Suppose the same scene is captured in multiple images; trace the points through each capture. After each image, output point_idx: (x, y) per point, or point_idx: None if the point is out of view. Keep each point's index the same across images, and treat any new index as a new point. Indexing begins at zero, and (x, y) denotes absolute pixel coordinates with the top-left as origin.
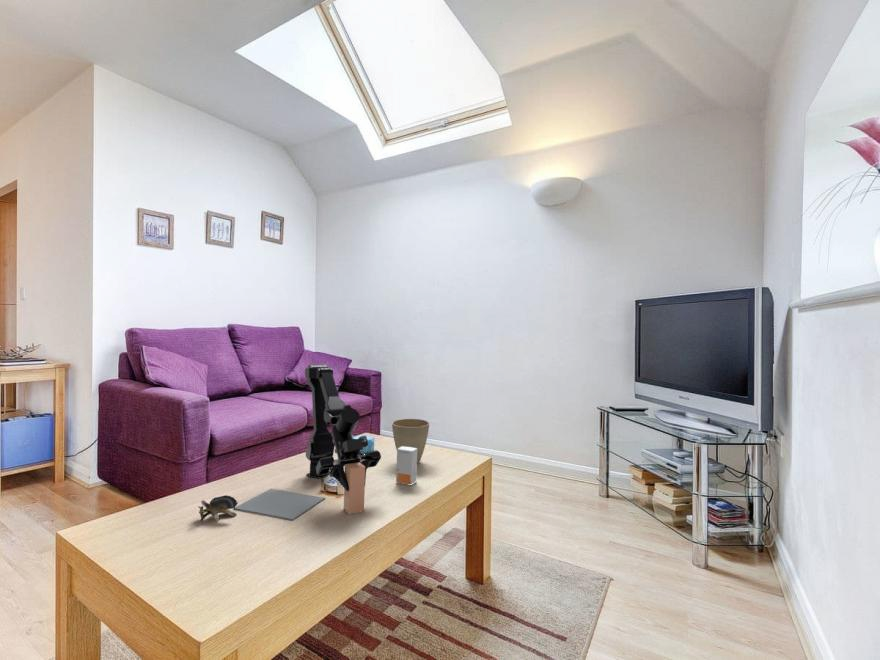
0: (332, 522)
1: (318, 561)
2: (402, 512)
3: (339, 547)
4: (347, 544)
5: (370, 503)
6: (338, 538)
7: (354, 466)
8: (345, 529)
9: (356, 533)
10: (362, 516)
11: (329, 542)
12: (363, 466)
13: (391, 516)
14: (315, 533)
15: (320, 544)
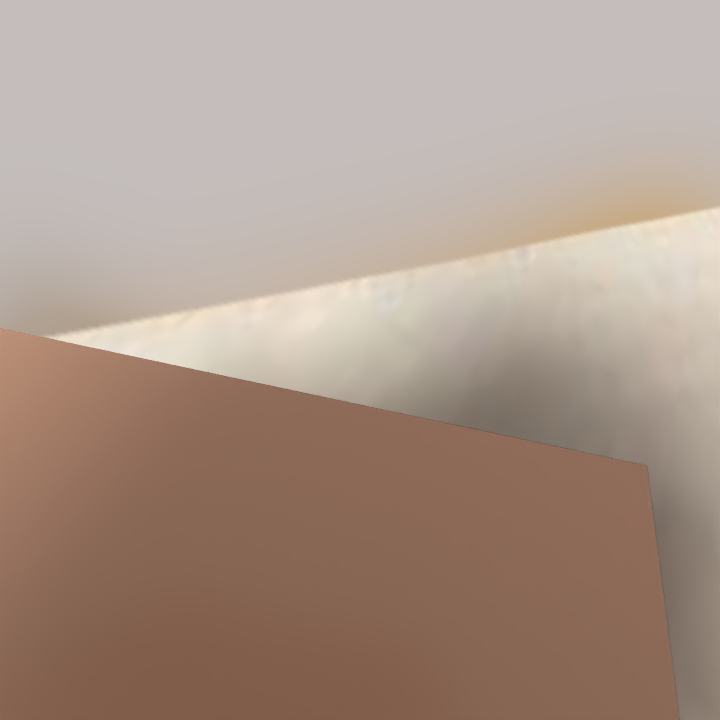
0: None
1: (714, 230)
2: (70, 333)
3: (605, 257)
4: (562, 254)
5: None
6: (585, 323)
7: (330, 676)
8: (513, 381)
9: (478, 306)
10: None
11: (639, 319)
12: (32, 376)
13: (174, 336)
14: (699, 456)
15: (687, 331)
